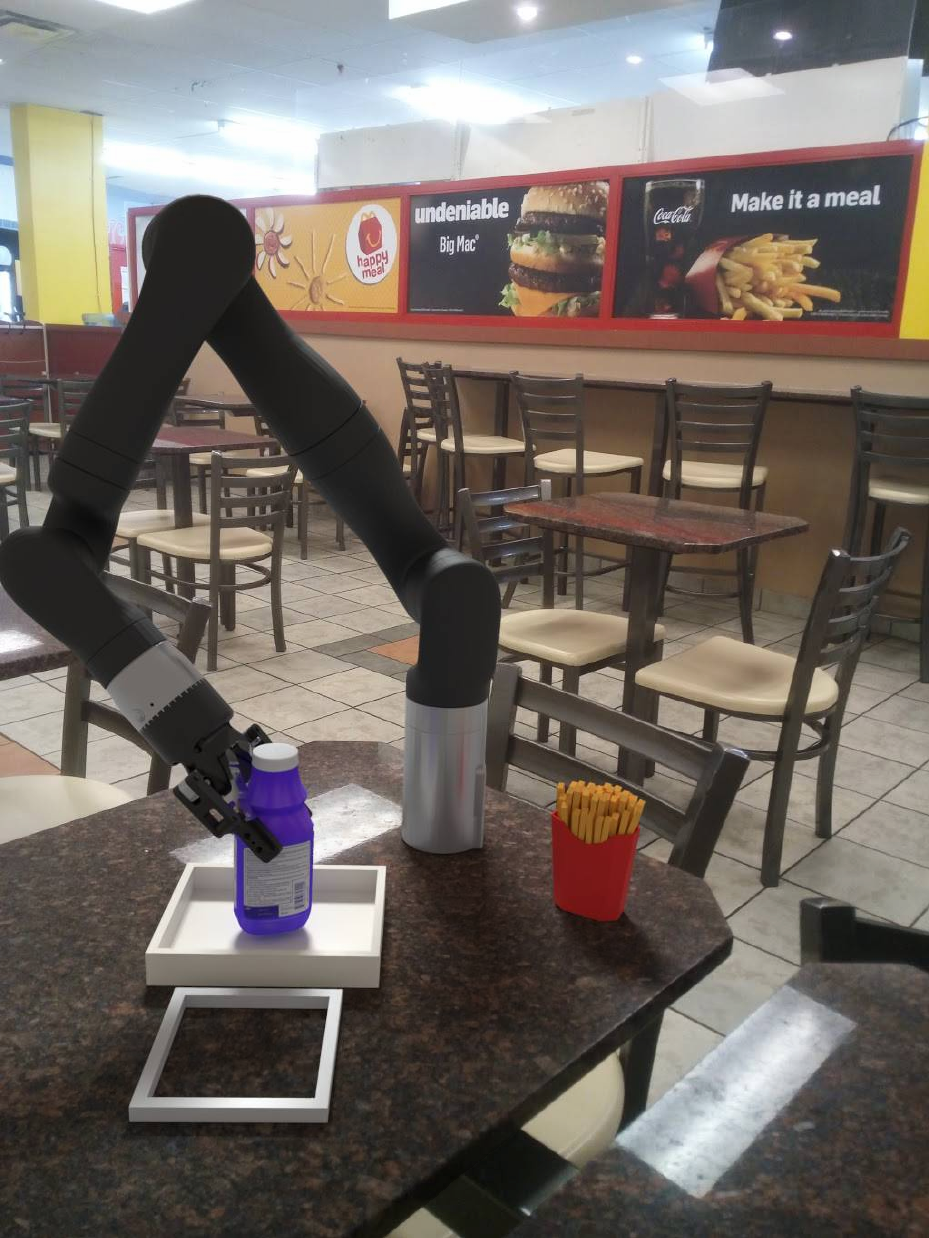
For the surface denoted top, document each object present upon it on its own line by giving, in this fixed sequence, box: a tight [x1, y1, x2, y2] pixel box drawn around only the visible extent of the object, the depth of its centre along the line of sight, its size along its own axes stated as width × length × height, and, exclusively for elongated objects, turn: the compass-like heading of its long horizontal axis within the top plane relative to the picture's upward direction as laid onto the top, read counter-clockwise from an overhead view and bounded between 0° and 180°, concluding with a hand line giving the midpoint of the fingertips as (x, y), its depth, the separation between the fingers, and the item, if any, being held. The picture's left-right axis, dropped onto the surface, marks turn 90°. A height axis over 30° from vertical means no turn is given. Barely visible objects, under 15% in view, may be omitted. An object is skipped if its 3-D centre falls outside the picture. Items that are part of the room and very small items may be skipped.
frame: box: [128, 986, 344, 1124], centre depth 78 cm, size 14×14×1 cm
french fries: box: [550, 780, 647, 922], centre depth 100 cm, size 9×4×13 cm, turn 63°
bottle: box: [233, 742, 315, 935], centre depth 92 cm, size 7×6×17 cm
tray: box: [144, 862, 387, 989], centre depth 94 cm, size 20×16×3 cm
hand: (290, 838), depth 92 cm, fingers closed on bottle, 6 cm apart
